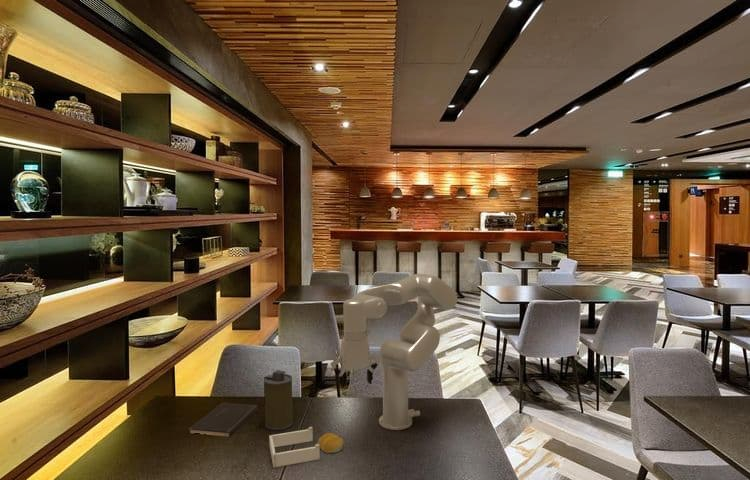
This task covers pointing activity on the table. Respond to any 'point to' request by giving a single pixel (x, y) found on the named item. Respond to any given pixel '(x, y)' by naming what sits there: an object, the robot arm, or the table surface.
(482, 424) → the table surface
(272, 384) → the canister
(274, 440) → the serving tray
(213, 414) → the hardcover book
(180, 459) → the table surface
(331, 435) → the bread roll
